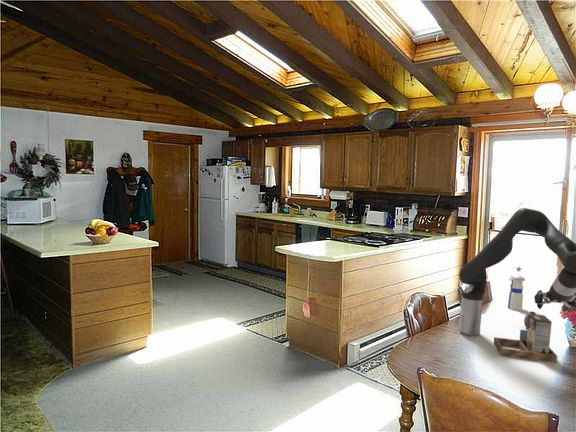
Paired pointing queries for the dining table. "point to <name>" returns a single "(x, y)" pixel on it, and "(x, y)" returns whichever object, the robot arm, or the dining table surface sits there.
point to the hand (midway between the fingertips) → (551, 308)
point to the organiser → (522, 349)
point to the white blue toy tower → (516, 292)
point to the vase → (527, 319)
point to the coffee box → (538, 333)
